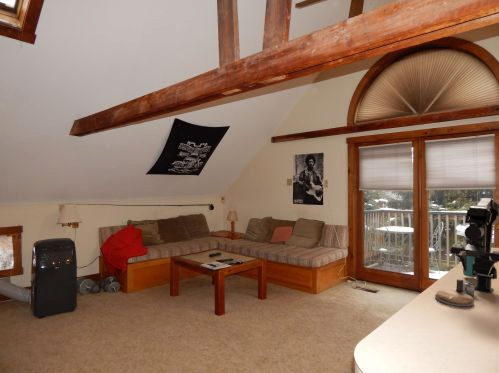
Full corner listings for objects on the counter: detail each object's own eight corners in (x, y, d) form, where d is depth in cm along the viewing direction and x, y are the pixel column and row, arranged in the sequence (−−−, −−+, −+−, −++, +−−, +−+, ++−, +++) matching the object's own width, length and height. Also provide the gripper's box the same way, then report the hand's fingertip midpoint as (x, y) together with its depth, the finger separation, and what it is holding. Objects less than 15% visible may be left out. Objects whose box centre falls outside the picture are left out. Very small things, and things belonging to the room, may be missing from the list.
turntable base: (441, 292, 153) (441, 290, 153) (478, 301, 143) (478, 299, 143) (430, 300, 144) (430, 297, 144) (468, 310, 134) (468, 308, 134)
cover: (462, 291, 155) (463, 280, 154) (475, 294, 151) (476, 283, 151) (459, 294, 151) (459, 283, 151) (472, 297, 148) (472, 286, 147)
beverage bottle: (480, 280, 171) (481, 241, 170) (465, 279, 172) (467, 240, 171) (474, 276, 177) (475, 238, 176) (460, 275, 179) (461, 238, 178)
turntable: (444, 289, 154) (444, 276, 153) (477, 297, 144) (478, 283, 144) (431, 297, 144) (432, 283, 144) (467, 306, 134) (467, 291, 134)
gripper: (446, 235, 144) (445, 272, 145) (500, 243, 130) (498, 283, 131) (455, 232, 151) (453, 267, 152) (506, 238, 138) (505, 276, 138)
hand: (476, 273), depth 143 cm, fingers open, 8 cm apart
